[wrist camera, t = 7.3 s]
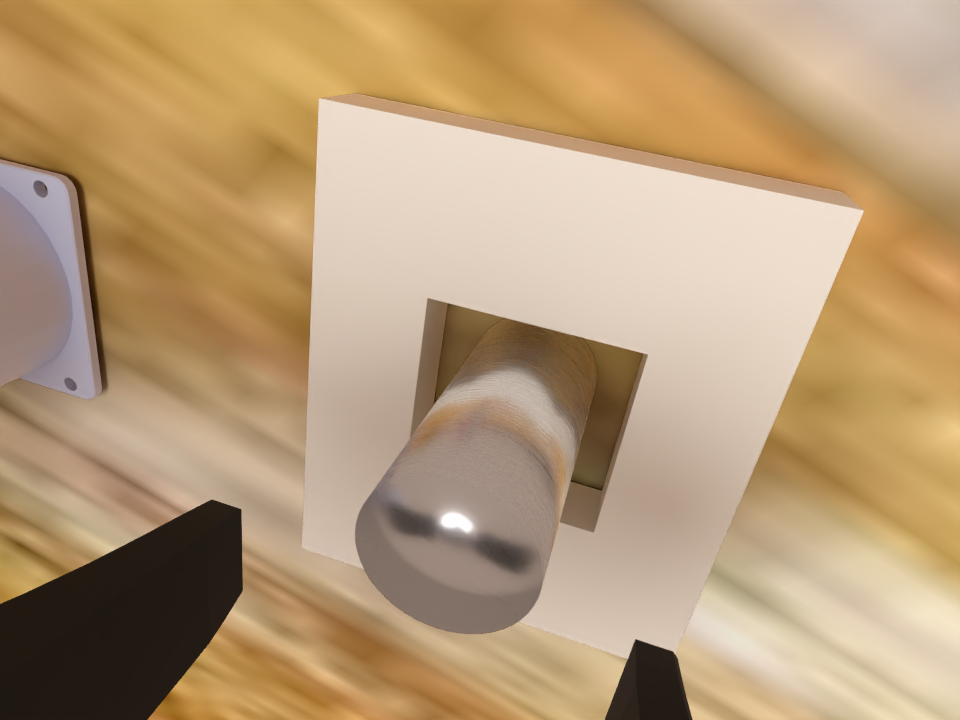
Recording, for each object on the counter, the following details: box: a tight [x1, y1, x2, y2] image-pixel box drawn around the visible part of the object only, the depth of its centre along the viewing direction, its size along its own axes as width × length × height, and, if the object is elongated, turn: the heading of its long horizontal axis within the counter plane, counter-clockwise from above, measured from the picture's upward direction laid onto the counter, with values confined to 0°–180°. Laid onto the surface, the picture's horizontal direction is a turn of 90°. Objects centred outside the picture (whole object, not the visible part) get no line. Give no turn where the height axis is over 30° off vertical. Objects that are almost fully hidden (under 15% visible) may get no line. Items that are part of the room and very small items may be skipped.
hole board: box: [302, 93, 864, 659], centre depth 18 cm, size 12×14×2 cm
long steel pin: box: [355, 318, 597, 634], centre depth 16 cm, size 4×4×8 cm
